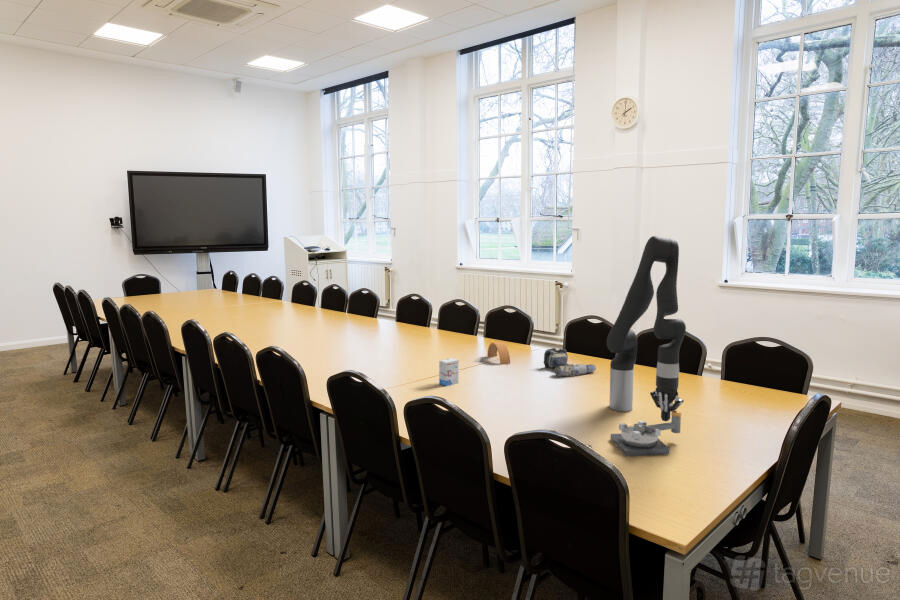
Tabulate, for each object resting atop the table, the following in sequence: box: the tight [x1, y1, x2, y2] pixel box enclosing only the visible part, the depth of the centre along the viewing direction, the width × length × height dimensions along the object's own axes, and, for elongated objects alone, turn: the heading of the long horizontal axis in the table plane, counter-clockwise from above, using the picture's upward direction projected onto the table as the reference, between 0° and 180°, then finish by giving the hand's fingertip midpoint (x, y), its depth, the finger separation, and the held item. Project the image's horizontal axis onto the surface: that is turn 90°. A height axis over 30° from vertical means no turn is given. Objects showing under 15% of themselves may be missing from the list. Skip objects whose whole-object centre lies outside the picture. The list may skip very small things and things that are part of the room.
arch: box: [487, 341, 511, 365], centre depth 324 cm, size 6×20×10 cm, turn 17°
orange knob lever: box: [618, 410, 682, 447], centre depth 202 cm, size 23×12×8 cm, turn 107°
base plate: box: [610, 433, 671, 457], centre depth 201 cm, size 15×15×2 cm
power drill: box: [543, 347, 597, 378], centre depth 300 cm, size 22×23×11 cm
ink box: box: [438, 357, 460, 387], centre depth 280 cm, size 9×5×12 cm, turn 131°
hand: (665, 420), depth 209 cm, fingers closed
